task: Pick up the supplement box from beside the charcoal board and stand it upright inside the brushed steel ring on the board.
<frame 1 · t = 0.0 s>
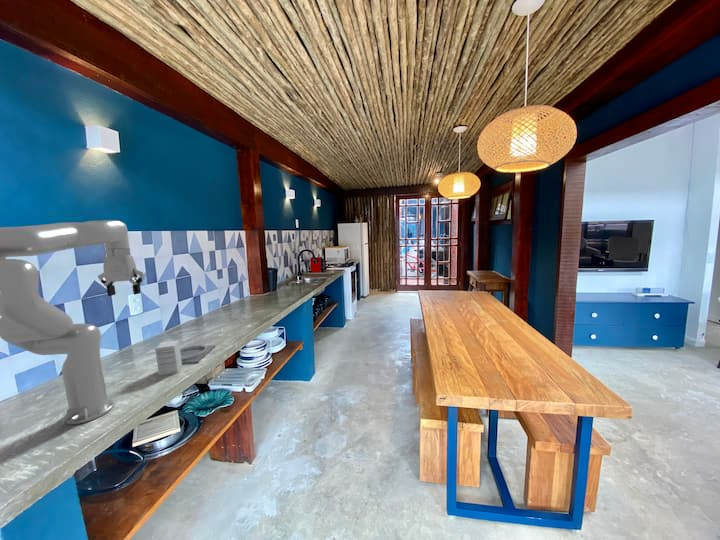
hand: (124, 294, 117), 37 cm above the countertop, tool pointing down, fingers open, 9 cm apart
supplement box: (171, 371, 128), on the countertop
steel ring: (190, 352, 144), on the slate board, point 1 cm above the countertop
slate board: (190, 355, 144), on the countertop
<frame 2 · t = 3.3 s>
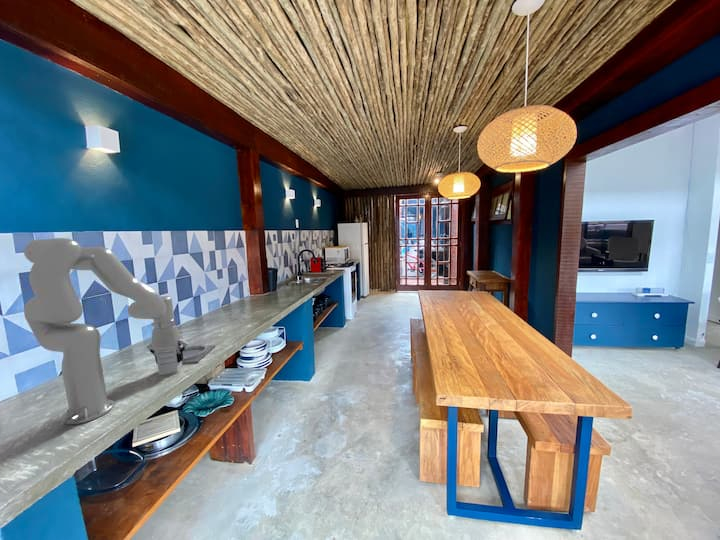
hand: (169, 361, 127), 4 cm above the countertop, tool pointing down, fingers closed on supplement box, 8 cm apart
supplement box: (171, 371, 128), on the countertop, touching gripper
when the fingers open (6 cm above the countertop, at t = 9.4 s): supplement box drops 1 cm, resting on slate board.
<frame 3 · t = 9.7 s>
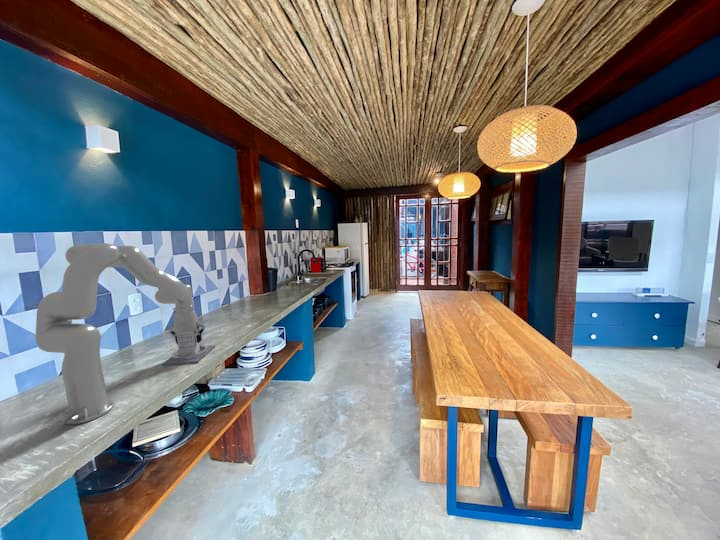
hand: (189, 342, 143), 7 cm above the countertop, tool pointing down, fingers open, 9 cm apart
supplement box: (189, 354, 143), point 1 cm above the countertop, touching slate board
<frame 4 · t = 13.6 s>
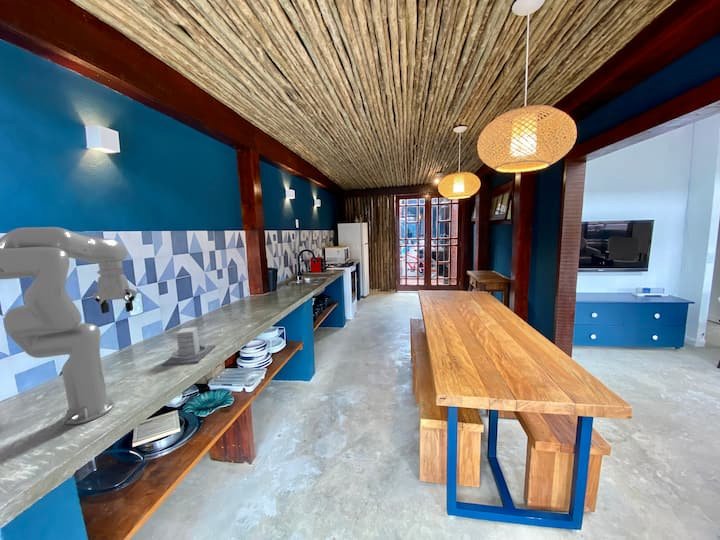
hand: (117, 311, 124), 28 cm above the countertop, tool pointing down, fingers open, 9 cm apart
nothing on the countertop moved.
at the end: supplement box 0.4 cm off-centre on the steel ring, point 0.8 cm above the steel ring's base; supplement box tilted 0°; the gripper is holding nothing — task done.
